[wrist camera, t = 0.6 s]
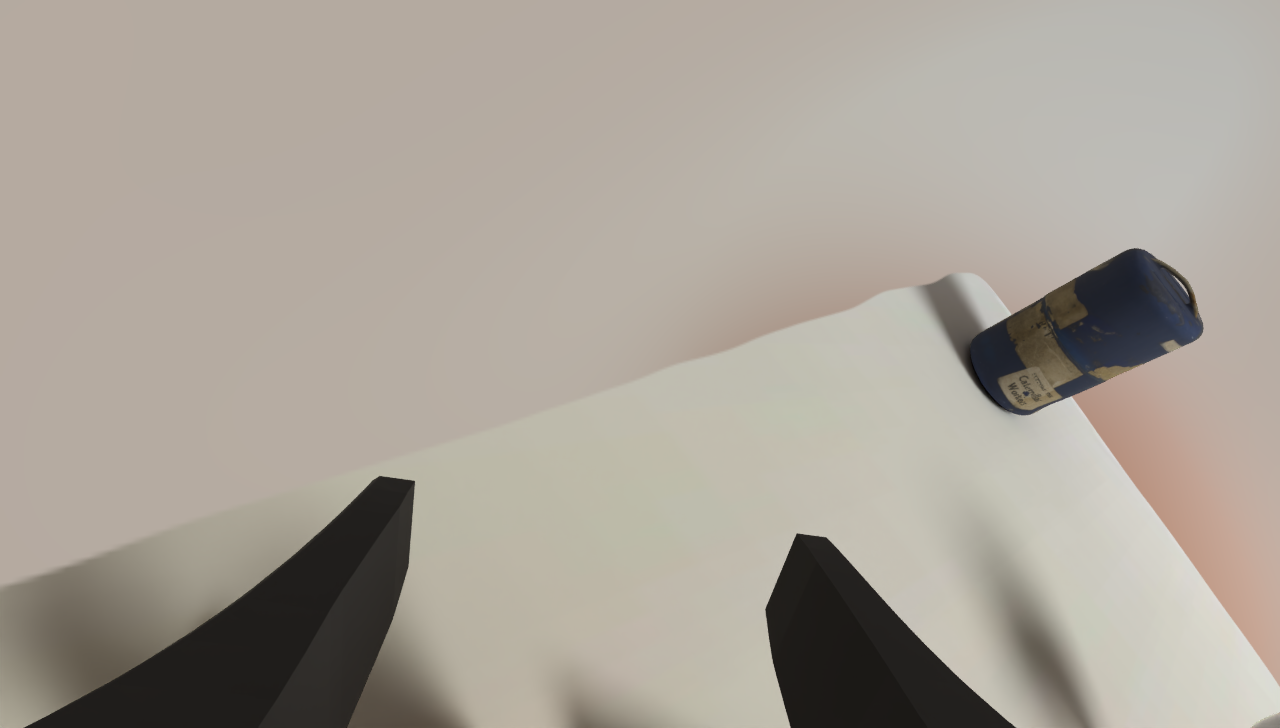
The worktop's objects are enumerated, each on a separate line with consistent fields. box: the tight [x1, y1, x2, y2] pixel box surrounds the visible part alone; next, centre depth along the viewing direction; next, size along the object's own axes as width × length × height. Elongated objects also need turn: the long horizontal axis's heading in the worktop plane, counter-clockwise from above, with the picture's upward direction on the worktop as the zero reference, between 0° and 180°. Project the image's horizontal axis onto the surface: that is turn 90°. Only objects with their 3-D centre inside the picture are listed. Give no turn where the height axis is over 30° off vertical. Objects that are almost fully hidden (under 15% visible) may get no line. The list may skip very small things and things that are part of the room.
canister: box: [970, 248, 1203, 415], centre depth 62 cm, size 10×10×18 cm
